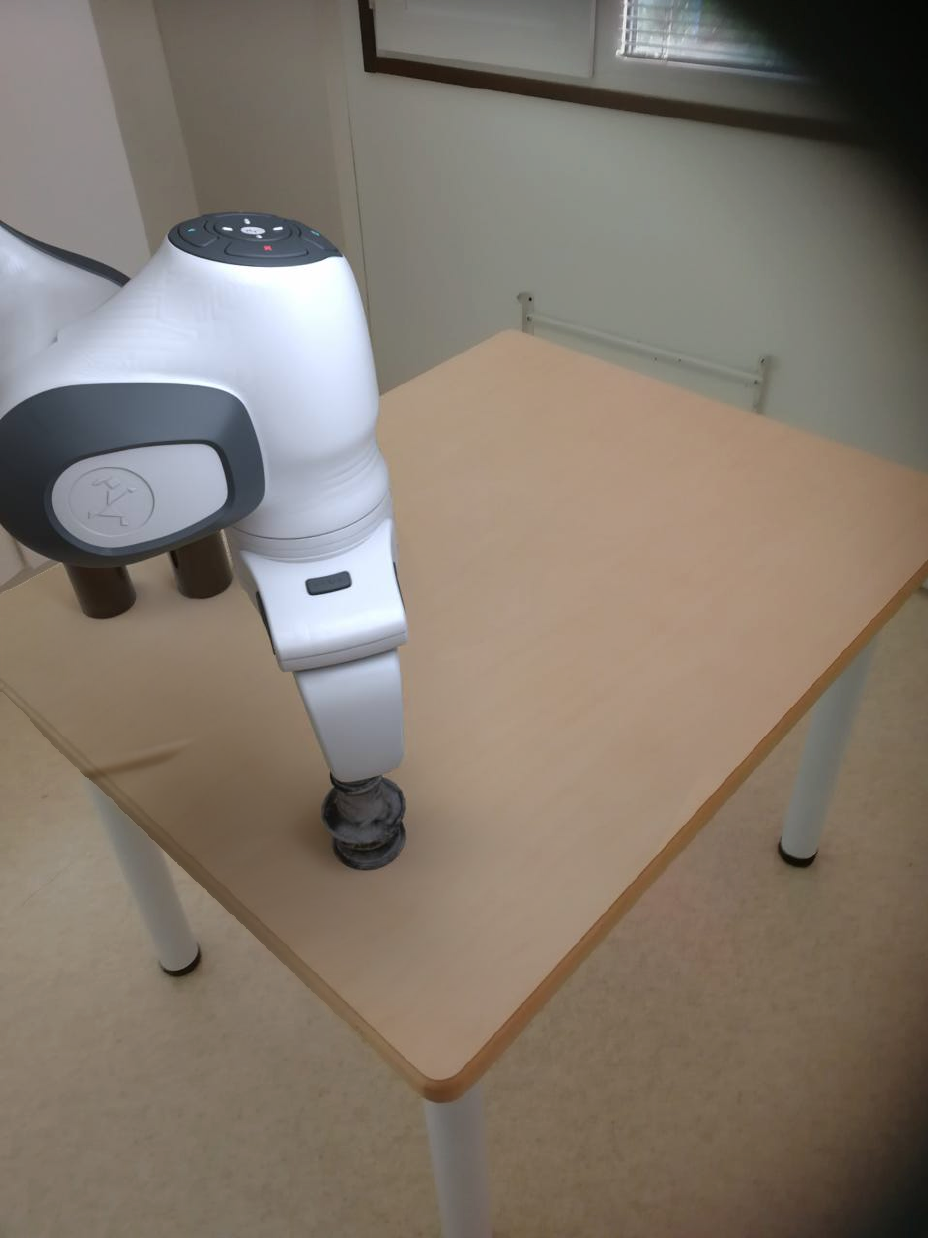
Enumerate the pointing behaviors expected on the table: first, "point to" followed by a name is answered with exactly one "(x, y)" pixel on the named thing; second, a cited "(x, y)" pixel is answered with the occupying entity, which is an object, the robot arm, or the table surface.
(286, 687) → the table surface
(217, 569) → the vinegar bottle
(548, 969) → the table surface
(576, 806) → the table surface
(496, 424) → the table surface
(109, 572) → the pepper mill
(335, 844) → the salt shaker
